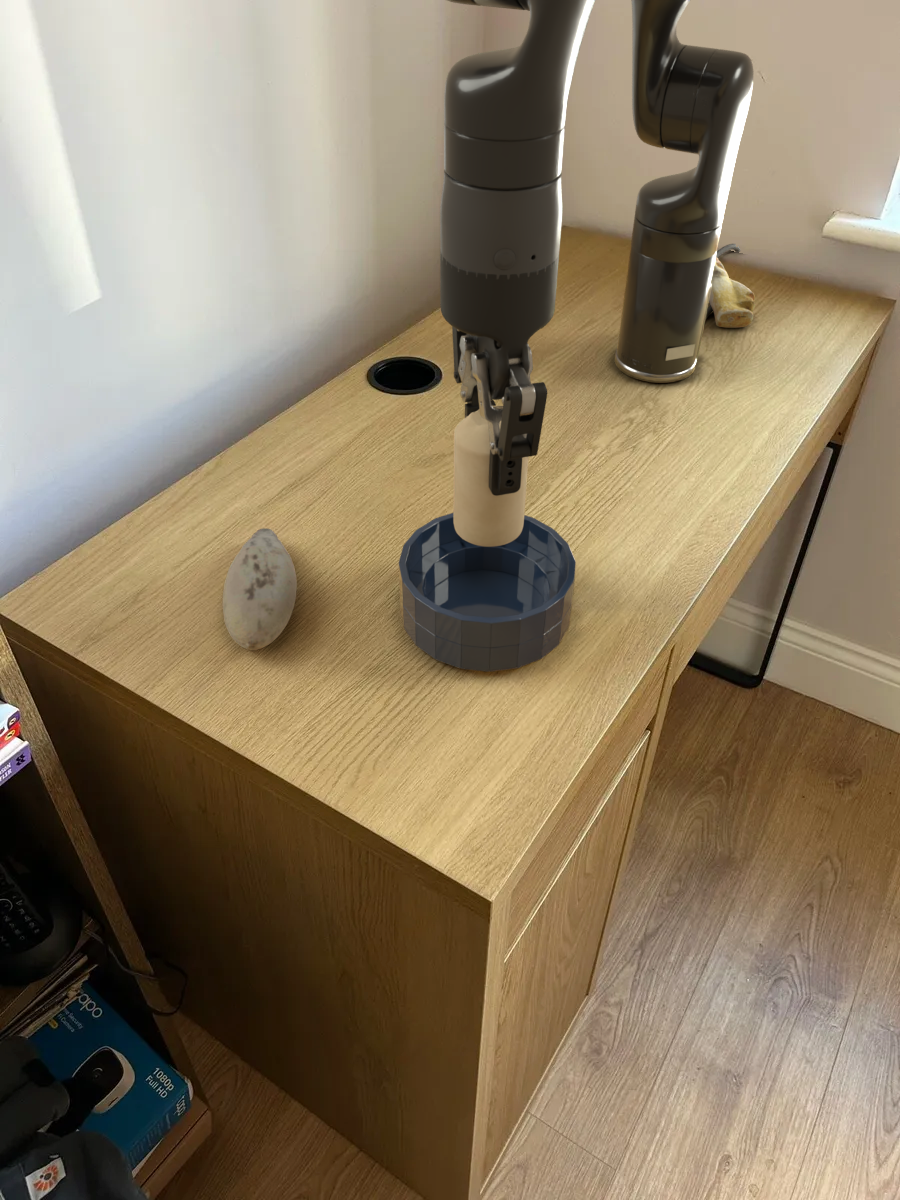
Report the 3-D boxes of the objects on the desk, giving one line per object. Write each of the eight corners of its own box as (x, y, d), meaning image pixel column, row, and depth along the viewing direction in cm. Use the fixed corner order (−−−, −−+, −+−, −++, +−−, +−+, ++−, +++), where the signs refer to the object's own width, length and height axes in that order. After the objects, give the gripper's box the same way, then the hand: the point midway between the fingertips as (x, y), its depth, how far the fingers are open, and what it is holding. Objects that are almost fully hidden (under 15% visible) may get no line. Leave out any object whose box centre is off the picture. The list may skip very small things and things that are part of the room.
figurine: (770, 311, 119) (738, 246, 129) (735, 296, 117) (705, 231, 127) (743, 344, 123) (714, 278, 132) (709, 330, 121) (682, 264, 130)
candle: (517, 552, 73) (525, 440, 66) (446, 542, 74) (447, 431, 67) (528, 509, 77) (536, 399, 70) (460, 500, 78) (462, 391, 71)
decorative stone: (298, 541, 89) (294, 512, 87) (298, 661, 78) (294, 630, 76) (231, 546, 89) (226, 517, 86) (221, 667, 77) (214, 637, 75)
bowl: (480, 541, 89) (482, 488, 85) (602, 614, 82) (611, 560, 78) (367, 616, 82) (363, 562, 78) (490, 704, 75) (493, 649, 71)
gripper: (599, 285, 56) (573, 516, 68) (519, 198, 66) (508, 411, 78) (476, 301, 55) (470, 534, 66) (413, 209, 65) (418, 425, 76)
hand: (491, 467), depth 72 cm, fingers closed on candle, 5 cm apart
